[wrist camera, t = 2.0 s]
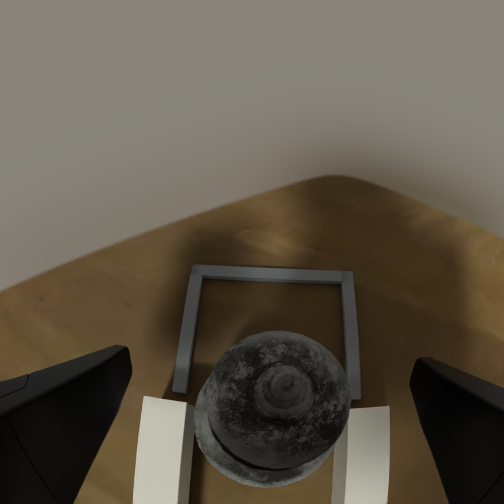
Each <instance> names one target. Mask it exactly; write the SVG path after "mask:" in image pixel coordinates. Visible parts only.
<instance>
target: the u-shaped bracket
mask: <svg viewBox="0 0 504 504" xmlns="http://www.w3.org/2000/svg"><path fill="white" fill-rule="evenodd" d="M194 408H195V407H194V406H192V405H190V404H188V403H187V402H179V401H172V400H166V399H159V398H153V397H148V396H144V399H143V406H142V414H141V422H140V430H139V438H138V447H137V457H136V468H135V480H134V493H133V504H188V503H189V490H190V477H191V465H192V454H193V443H194V432H195V431H194ZM389 458H390V409H389V406H382V407H370V408H356V409H350V412H349V418H348V420H347V423H346V425H345V427H344V429H343V431H342V433H341V435H340V437H339V438H338V440H337V442H336V444H335V446H334V463H333V482H332V497H331V504H387V497H388V482H389Z"/></svg>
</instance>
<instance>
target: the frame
mask: <svg viewBox="0 0 504 504" xmlns="http://www.w3.org/2000/svg"><path fill="white" fill-rule="evenodd" d="M203 278H204V279H222V280H241V281H262V282H285V283H312V284H341V295H342V308H343V324H344V343H345V370H346V377H347V379H348V382H349V387H350V395H351V400H359V399H361V380H360V357H359V339H358V325H357V313H356V302H355V291H354V282H353V273H352V271H331V270H305V269H281V268H258V267H236V266H216V265H196V264H192V268H191V274H190V279H189V285H188V290H187V296H186V302H185V308H184V314H183V320H182V326H181V332H180V339H179V345H178V352H177V359H176V366H175V373H174V380H173V388H172V391H173V392H176V393H184V394H187V389H188V381H189V373H190V365H191V357H192V350H193V342H194V335H195V328H196V321H197V314H198V307H199V301H200V294H201V288H202V281H203Z"/></svg>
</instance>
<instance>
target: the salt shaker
mask: <svg viewBox="0 0 504 504" xmlns="http://www.w3.org/2000/svg"><path fill="white" fill-rule="evenodd" d="M350 405H351V395H350V387H349V382H348V379H347V377H346V375H345V372H344V370H343V367H342V366H341V364H340V363H339V362H338V361H337V359H336V358H335V357H334V355H333V354H332V353H331V352H330V351H329V350H328V349H326V348H325V347H324V346H323V345H321V344H320V343H319V342H317V341H315V340H313V339H311V338H309V337H307V336H304V335H302V334H298V333H293V332H288V331H265V332H261V333H258V334H254V335H250V336H248V337H246V338H244V339H243V340H241V341H239V342H237V343H235V344H234V345H233V346H231V347H230V348H229V349H228V350H227V351H226V352H225V353H224V354H223V355H222V356H221V357H220V359H219V361H218V362H217V364H216V366H215V367H214V369H213V371H212V372H211V375H210V377H209V378H208V379H207V381H206V382H205V384H204V386H203V387H202V389H201V390H200V392H199V394H198V398H197V401H196V405H195V408H194V431H195V434H196V438H197V441H198V445H199V447H200V449H201V450H202V452H203V453H204V455H205V457H206V458H207V460H208V461H209V462H210V463H211V464H212V465H213V466H214V467H215V468H216V469H217V470H218V471H220V472H221V473H222V474H223V475H225V476H227V477H229V478H231V479H233V480H235V481H237V482H239V483H241V484H245V485H250V486H255V487H260V488H263V487H281V486H284V485H287V484H291V483H294V482H297V481H300V480H301V479H303V478H305V477H306V476H308V475H309V474H311V473H312V472H314V471H316V470H317V469H318V468H319V467H320V466H321V465H322V463H323V462H324V461H325V460H326V459H327V458H328V457H329V456H330V454H331V452H332V450H333V448H334V446H335V444H336V442H337V440H338V438H339V437H340V435H341V433H342V431H343V429H344V427H345V425H346V423H347V420H348V418H349V412H350Z"/></svg>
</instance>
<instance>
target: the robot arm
mask: <svg viewBox="0 0 504 504" xmlns="http://www.w3.org/2000/svg"><path fill="white" fill-rule="evenodd" d="M131 376H132V364H131V358H130V352H129V349H128V348H127V347H126V346H121V345H114V346H111V347H108V348H105V349H102V350H99V351H96V352H93V353H90V354H88V355H85V356H82V357H79V358H76V359H73V360H70V361H67V362H64V363H61V364H58V365H54V366H51V367H48V368H45V369H42V370H39V371H36V372H33V373H30V374H26V375H23V376H20V377H16V378H13V379H9V380H5V381H1V382H0V504H74V501H75V499H76V497H77V495H78V493H79V491H80V488H81V486H82V484H83V482H84V480H85V478H86V476H87V474H88V472H89V470H90V467H91V465H92V463H93V461H94V459H95V457H96V455H97V453H98V451H99V449H100V447H101V445H102V443H103V441H104V439H105V437H106V435H107V433H108V431H109V429H110V427H111V425H112V423H113V421H114V419H115V417H116V415H117V413H118V411H119V408H120V406H121V403H122V400H123V398H124V395H125V392H126V389H127V387H128V384H129V381H130V379H131ZM410 389H411V392H412V396H413V399H414V403H415V407H416V410H417V414H418V418H419V421H420V424H421V427H422V429H423V432H424V435H425V437H426V440H427V442H428V445H429V448H430V450H431V453H432V456H433V459H434V461H435V464H436V467H437V470H438V473H439V476H440V479H441V482H442V485H443V488H444V491H445V494H446V497H447V500H448V503H449V504H504V388H502V387H500V386H497V385H495V384H492V383H490V382H487V381H485V380H483V379H480V378H478V377H475V376H473V375H470V374H468V373H466V372H463V371H461V370H459V369H456V368H454V367H451V366H449V365H447V364H444V363H442V362H440V361H437V360H435V359H432V358H430V357H421V358H418V359H417V360H416V361H415V364H414V368H413V371H412V374H411V378H410Z"/></svg>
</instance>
